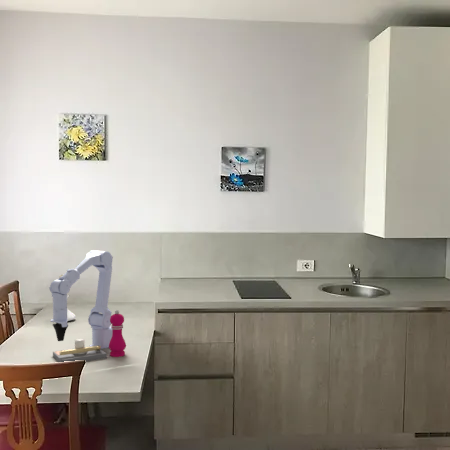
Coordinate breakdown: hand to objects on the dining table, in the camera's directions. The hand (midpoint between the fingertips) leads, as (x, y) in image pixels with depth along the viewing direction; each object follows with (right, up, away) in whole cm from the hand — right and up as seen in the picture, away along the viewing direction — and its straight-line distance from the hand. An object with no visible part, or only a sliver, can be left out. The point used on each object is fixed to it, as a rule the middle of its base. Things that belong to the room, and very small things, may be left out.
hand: (60, 340), depth 238 cm
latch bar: (+8, -5, 0) cm, 10 cm away
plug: (+7, -8, +3) cm, 11 cm away
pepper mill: (+23, -8, +7) cm, 25 cm away
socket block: (+7, -8, +3) cm, 11 cm away
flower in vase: (-19, -4, +73) cm, 76 cm away
